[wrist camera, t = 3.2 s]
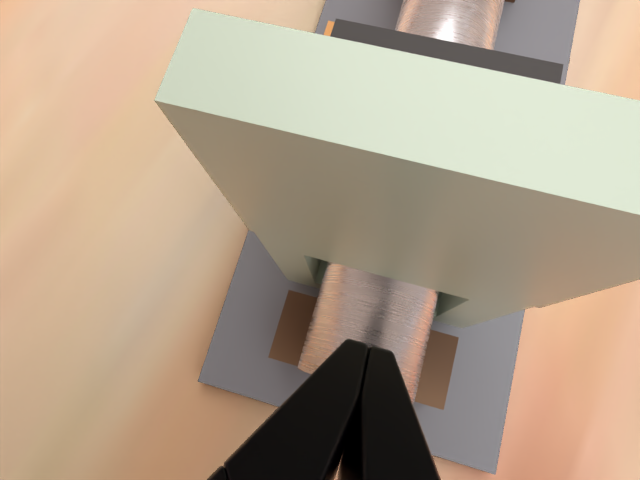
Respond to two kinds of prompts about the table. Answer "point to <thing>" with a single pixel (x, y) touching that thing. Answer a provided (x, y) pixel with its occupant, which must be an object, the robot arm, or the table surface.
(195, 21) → the pale green stepped block
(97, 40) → the table surface
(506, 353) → the pipe rig
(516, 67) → the dark grey rectangular block
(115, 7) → the table surface
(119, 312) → the table surface
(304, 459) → the robot arm
